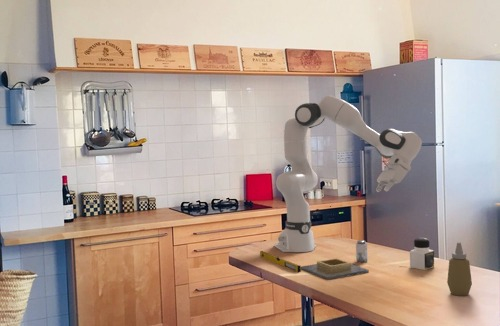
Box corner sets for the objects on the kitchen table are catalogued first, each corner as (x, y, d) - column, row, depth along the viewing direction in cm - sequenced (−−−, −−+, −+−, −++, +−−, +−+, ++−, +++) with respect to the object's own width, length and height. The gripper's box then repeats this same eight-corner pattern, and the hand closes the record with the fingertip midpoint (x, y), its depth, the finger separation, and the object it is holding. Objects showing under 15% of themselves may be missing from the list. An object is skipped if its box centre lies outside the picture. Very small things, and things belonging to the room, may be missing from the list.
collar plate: (300, 268, 237) (300, 260, 237) (339, 262, 246) (339, 254, 246) (327, 279, 219) (327, 270, 219) (368, 272, 228) (368, 263, 228)
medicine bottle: (425, 270, 228) (424, 241, 227) (409, 267, 234) (409, 239, 233) (434, 267, 233) (434, 238, 232) (419, 264, 238) (418, 236, 237)
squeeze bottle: (459, 298, 191) (458, 246, 190) (442, 292, 198) (441, 242, 197) (477, 294, 194) (476, 243, 193) (459, 289, 201) (459, 239, 200)
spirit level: (260, 257, 262) (260, 251, 262) (263, 257, 263) (262, 250, 262) (297, 273, 232) (297, 265, 232) (300, 272, 233) (300, 265, 233)
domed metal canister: (354, 261, 248) (353, 240, 247) (362, 259, 250) (362, 239, 249) (360, 263, 243) (360, 242, 243) (369, 261, 246) (369, 241, 245)
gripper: (383, 163, 259) (367, 187, 257) (401, 159, 239) (384, 185, 237) (394, 171, 259) (378, 195, 257) (413, 167, 239) (396, 194, 237)
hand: (381, 190), depth 247 cm, fingers open, 8 cm apart
